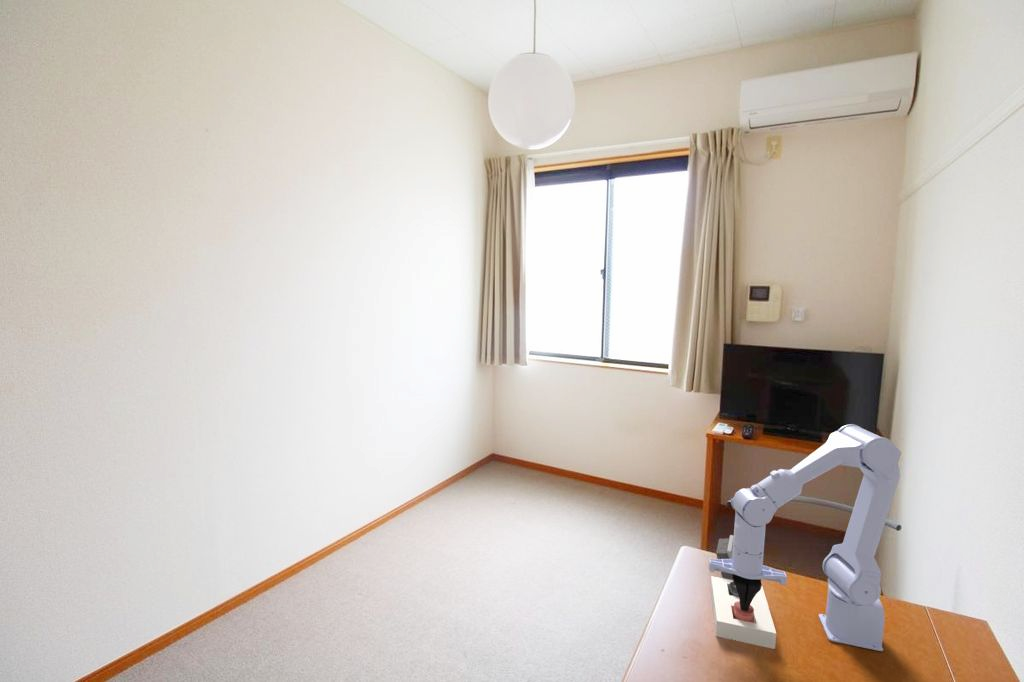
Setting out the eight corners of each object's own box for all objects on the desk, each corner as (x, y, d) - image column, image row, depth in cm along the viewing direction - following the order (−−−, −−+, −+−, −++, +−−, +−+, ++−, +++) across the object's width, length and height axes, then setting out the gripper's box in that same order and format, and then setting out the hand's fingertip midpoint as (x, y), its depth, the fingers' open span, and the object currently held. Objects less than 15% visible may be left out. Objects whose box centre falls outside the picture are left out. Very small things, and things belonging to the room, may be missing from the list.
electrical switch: (740, 590, 115) (739, 553, 114) (717, 585, 117) (715, 549, 116) (742, 570, 123) (741, 535, 122) (720, 566, 125) (719, 532, 125)
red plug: (751, 620, 103) (752, 603, 102) (753, 632, 99) (755, 615, 99) (731, 616, 104) (733, 599, 104) (734, 628, 100) (735, 611, 100)
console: (761, 599, 111) (762, 585, 111) (775, 649, 96) (776, 633, 96) (710, 589, 115) (711, 576, 114) (716, 636, 100) (717, 620, 99)
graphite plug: (745, 599, 110) (746, 583, 110) (748, 609, 107) (749, 593, 106) (727, 595, 112) (728, 580, 111) (729, 606, 108) (730, 590, 108)
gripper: (783, 543, 101) (778, 603, 103) (709, 532, 105) (705, 588, 107) (791, 562, 94) (785, 625, 96) (711, 548, 99) (707, 609, 101)
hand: (743, 607), depth 101 cm, fingers closed, pressing on red plug
